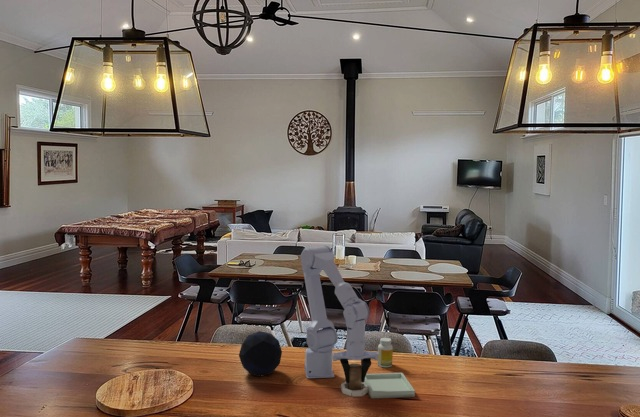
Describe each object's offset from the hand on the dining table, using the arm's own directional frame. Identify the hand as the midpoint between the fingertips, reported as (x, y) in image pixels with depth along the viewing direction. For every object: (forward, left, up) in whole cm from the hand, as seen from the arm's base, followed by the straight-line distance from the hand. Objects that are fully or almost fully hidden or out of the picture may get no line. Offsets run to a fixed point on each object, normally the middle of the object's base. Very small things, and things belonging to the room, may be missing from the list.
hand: (354, 381), depth 159 cm
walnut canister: (0, 0, -3) cm, 3 cm away
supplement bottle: (+15, +20, -3) cm, 25 cm away
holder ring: (0, 0, -3) cm, 3 cm away
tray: (+11, +1, -3) cm, 11 cm away
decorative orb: (-30, +16, -3) cm, 34 cm away
